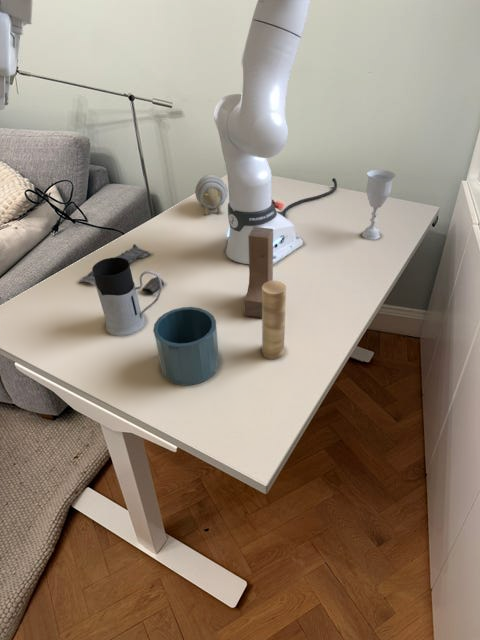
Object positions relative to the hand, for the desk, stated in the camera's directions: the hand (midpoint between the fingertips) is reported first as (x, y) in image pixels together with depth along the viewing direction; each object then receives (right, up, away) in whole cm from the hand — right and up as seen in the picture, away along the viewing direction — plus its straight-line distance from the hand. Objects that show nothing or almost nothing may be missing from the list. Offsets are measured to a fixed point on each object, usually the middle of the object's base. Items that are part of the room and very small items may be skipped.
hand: (0, 106), depth 68 cm
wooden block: (+42, -30, +34) cm, 62 cm away
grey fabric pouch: (+4, -19, +51) cm, 54 cm away
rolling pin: (+44, -40, +22) cm, 63 cm away
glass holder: (+14, -34, +31) cm, 48 cm away
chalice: (+76, -9, +59) cm, 97 cm away
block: (+16, -25, +42) cm, 51 cm away
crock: (+27, -42, +20) cm, 54 cm away
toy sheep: (+28, +4, +78) cm, 83 cm away
